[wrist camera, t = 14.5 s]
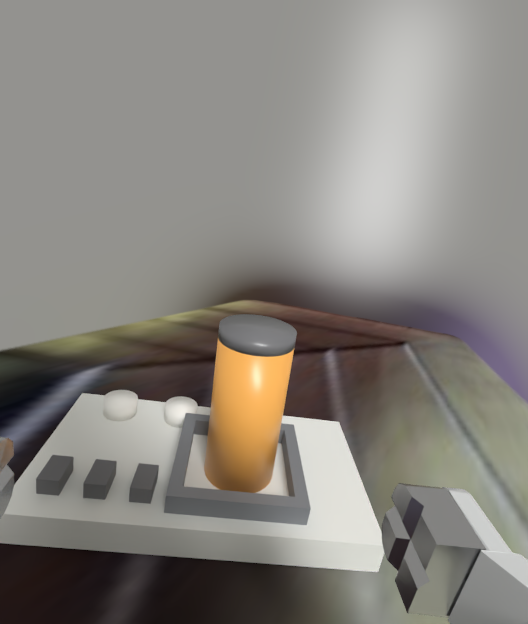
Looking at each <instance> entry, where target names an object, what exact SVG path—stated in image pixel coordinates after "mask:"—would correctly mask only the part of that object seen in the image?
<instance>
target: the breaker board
mask: <svg viewBox="0 0 528 624" xmlns="http://www.w3.org/2000/svg"><path fill="white" fill-rule="evenodd" d="M210 410H211V408H210V407H201V406H198V405H197V403H196V401H194V400H193V399H191V398H188V397H173V398H171V399H169V400H168V401H167V402H157V401H148V400H140V399H138V396H137V395H136V394H135V393H134V392H132V391H128V390H115V391H111V392H109V393H107V394H106V395H105V396H104V395H95V394H87V393H82V394H81V396H80V397H79V398H78V400H77V401H76V402H75V404H74V405H73V407H72V408H71V409H70V411H69V412H68V413H67V415H66V416H65V417H64V419H63V420H62V421H61V423H60V424H59V425H58V427H57V428H56V429H55V431H54V432H53V433H52V435H51V436H50V438H49V439H48V440H47V442H46V443H45V444H44V446H43V447H42V448H41V450H40V451H39V452H38V454H37V455H36V456H35V458H34V459H33V460H32V462H31V463H30V464H29V466H28V467H27V469H26V470H25V471H24V473H23V474H22V475H21V477H20V478H19V479H18V481H17V482H16V483H15V485H14V487H13V492H12V497H11V499H10V501H9V504H8V506H7V508H6V511H5V513H4V514H3V516H2V517H1V519H0V543H5V544H17V545H30V546H43V547H56V548H69V549H82V550H95V551H108V552H121V553H134V554H147V555H160V556H173V557H186V558H199V559H212V560H225V561H238V562H251V563H264V564H277V565H290V566H303V567H316V568H329V569H342V570H355V571H368V572H378V570H379V567H380V564H381V561H382V558H383V555H384V549H383V544H382V533H381V530H380V528H379V525H378V522H377V520H376V517H375V515H374V512H373V509H372V507H371V504H370V502H369V499H368V496H367V494H366V491H365V489H364V486H363V483H362V481H361V478H360V476H359V473H358V470H357V468H356V465H355V463H354V460H353V458H352V455H351V452H350V450H349V447H348V445H347V442H346V439H345V437H344V434H343V432H342V429H341V426H340V424H339V422H334V421H325V420H316V419H308V418H299V417H290V416H283V417H282V423H281V429H280V434H279V440H278V446H277V452H276V458H275V464H274V469H273V475H272V479H271V481H270V483H269V484H268V485H267V486H266V487H265V488H264V489H262V490H261V491H259V492H256V493H249V492H238V491H228V490H220V489H218V488H216V487H215V486H214V485H212V484H211V483H210V482H209V480H208V479H207V477H206V475H205V471H204V466H205V456H206V447H207V438H208V428H209V419H210Z"/></svg>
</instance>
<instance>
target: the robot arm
mask: <svg viewBox="0 0 528 624" xmlns="http://www.w3.org/2000/svg"><path fill="white" fill-rule="evenodd" d="M13 456H14V451H13V441H11V440H10V439H9V438H4V437H0V519H1V517H2V516H3V514H4V513H5V511H6V508H7V506H8V504H9V501H10V499H11V497H12V492H13V487H14V473H13V472H12V470H11V469H10V468H9V467H8V465H7V463H8V462H9V461H10V460H11V458H12V457H13ZM392 500H393V502H394V504H395V506H394V507H393V508H391V509H390V510H389V511H388V512H386V514H385V517H384V520H383V523H382V544H383V549H384V552H385V555H386V558H387V560H388V561H389V562H390V563H391V564H392V565H393V566H394V567H395V568H396V569H397V570H398V573H397V576H396V579H395V582H396V584H397V587H398V590H399V592H400V595H401V598H402V600H403V603H404V605H405V608H406V611H407V613H410V614H419V615H428V616H437V617H446V618H448V621H449V622H450V623H451V624H528V560H527V559H526V558H525V557H523V556H522V555H520V554H516V553H512V552H511V550H510V549H509V547H508V546H507V545H506V543H505V542H504V540H503V539H502V538H501V536H500V535H499V533H498V532H497V530H496V529H495V528H494V526H493V525H492V523H491V522H490V521H489V519H488V518H487V516H486V515H485V514H484V512H483V511H482V509H481V508H480V507H479V505H478V504H477V502H476V501H475V500H474V498H473V497H472V495H471V494H470V493H469V492H467V491H466V490H464V489H455V488H444V487H442V488H439V487H430V486H420V485H411V484H402V483H399V484H398V485H397V486H396V487H395V489H394V492H393V494H392Z"/></svg>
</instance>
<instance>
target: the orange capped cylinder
mask: <svg viewBox="0 0 528 624" xmlns="http://www.w3.org/2000/svg"><path fill="white" fill-rule="evenodd" d="M296 335H297V332H296V330H295V329H294V328H293V327H292V326H291V325H289V324H287V323H285V322H283V321H280V320H278V319H274V318H271V317H266V316H260V315H233V316H229V317H226V318H224V319H222V320H221V322H220V326H219V335H218V344H217V354H216V363H215V372H214V382H213V391H212V400H211V410H210V419H209V428H208V438H207V447H206V456H205V466H204V471H205V475H206V477H207V479H208V480H209V482H210V483H211V484H212V485H214V486H215V487H216V488H218V489H220V490H228V491H238V492H249V493H256V492H259V491H261V490H262V489H264V488H265V487H266V486H267V485H268V484H269V483H270V481H271V479H272V475H273V469H274V464H275V458H276V452H277V446H278V440H279V434H280V429H281V423H282V417H283V411H284V405H285V399H286V393H287V388H288V382H289V376H290V370H291V364H292V358H293V352H294V347H295V341H296Z"/></svg>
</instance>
